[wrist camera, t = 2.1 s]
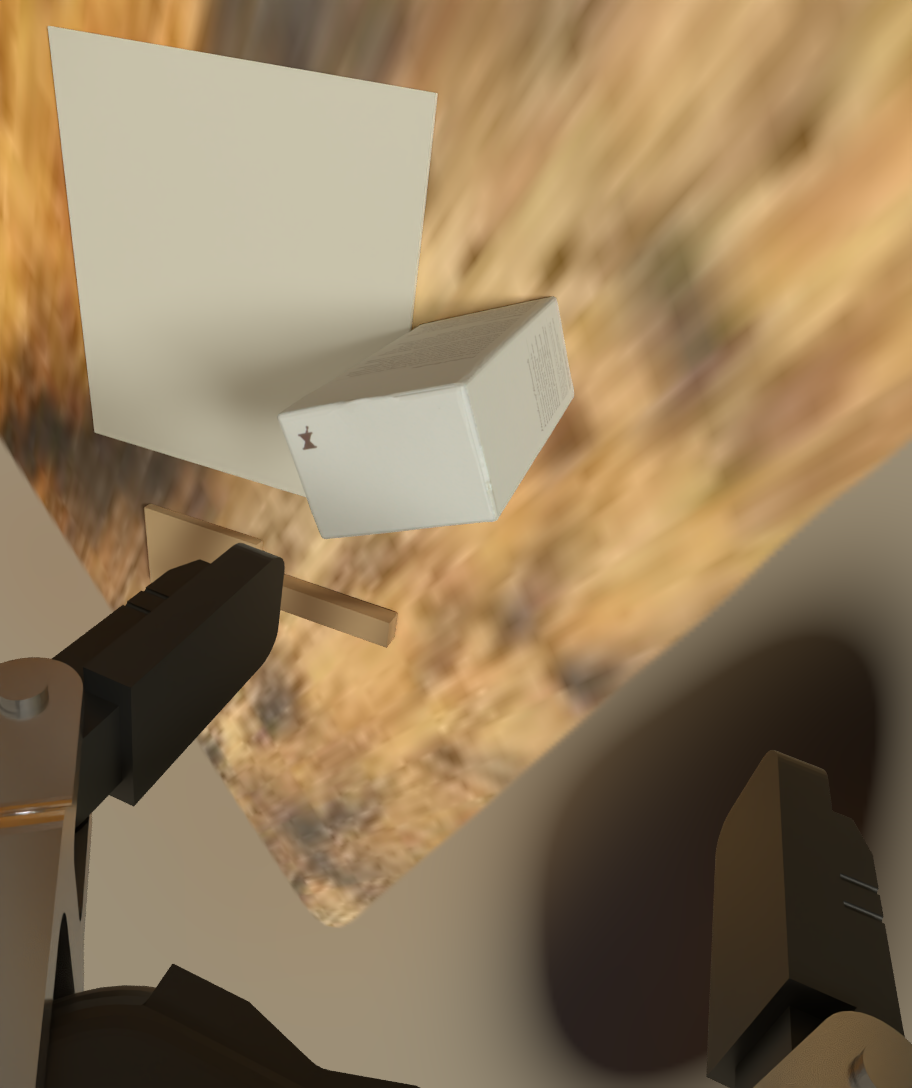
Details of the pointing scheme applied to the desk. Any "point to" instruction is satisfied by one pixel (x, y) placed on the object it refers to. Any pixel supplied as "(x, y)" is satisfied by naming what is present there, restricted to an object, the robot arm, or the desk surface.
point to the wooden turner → (195, 539)
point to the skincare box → (433, 423)
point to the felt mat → (232, 239)
